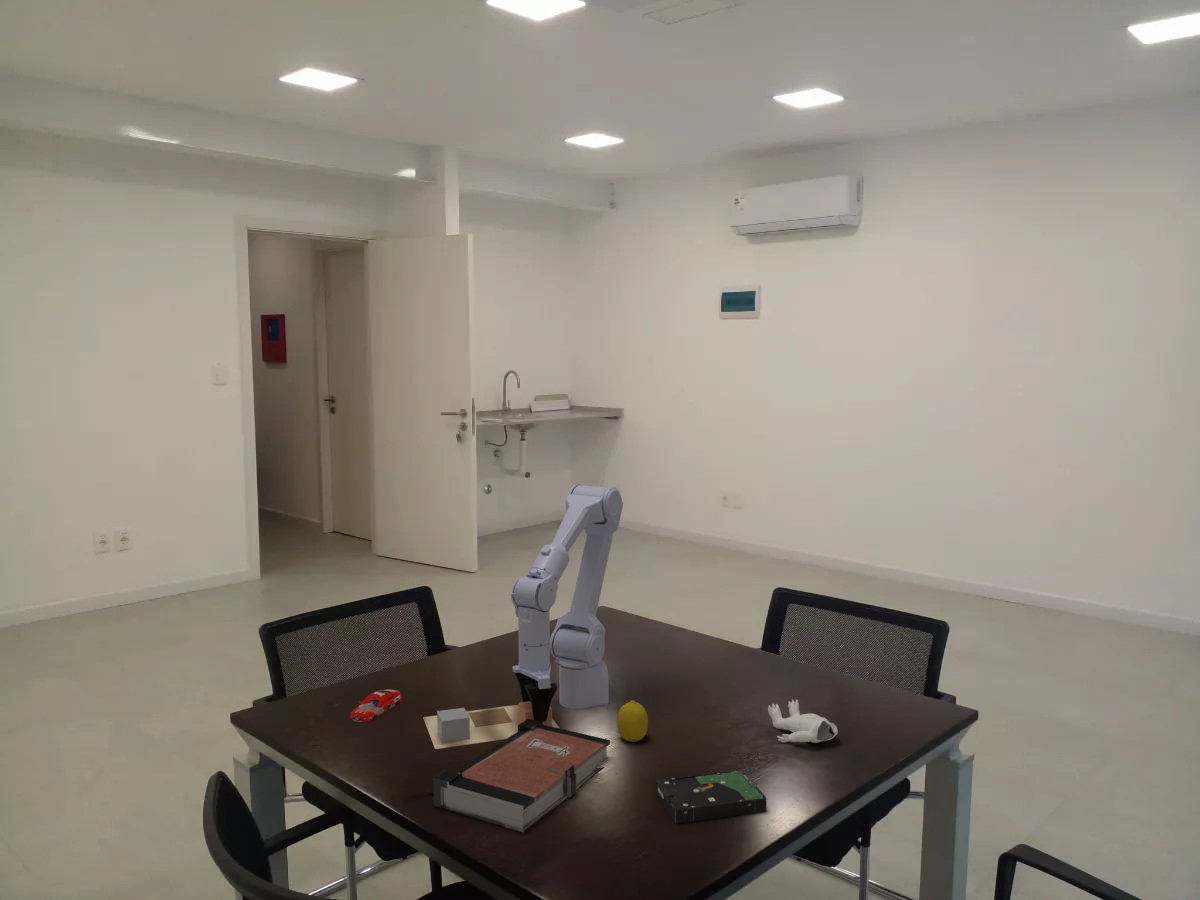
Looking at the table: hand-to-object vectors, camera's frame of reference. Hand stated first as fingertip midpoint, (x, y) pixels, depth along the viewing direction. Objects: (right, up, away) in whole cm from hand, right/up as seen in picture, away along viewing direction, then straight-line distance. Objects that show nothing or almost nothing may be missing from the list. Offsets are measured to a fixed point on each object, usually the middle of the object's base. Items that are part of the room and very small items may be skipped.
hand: (535, 713), depth 169 cm
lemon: (+18, -4, -5) cm, 19 cm away
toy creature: (+49, -4, -2) cm, 49 cm away
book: (0, -6, -20) cm, 21 cm away
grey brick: (-14, -3, -4) cm, 15 cm away
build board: (-8, -3, +2) cm, 9 cm away
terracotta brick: (0, -2, 0) cm, 3 cm away
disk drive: (+29, -7, -26) cm, 40 cm away
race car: (-32, -3, +10) cm, 33 cm away
